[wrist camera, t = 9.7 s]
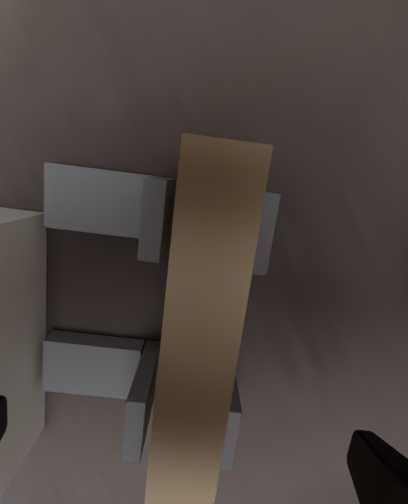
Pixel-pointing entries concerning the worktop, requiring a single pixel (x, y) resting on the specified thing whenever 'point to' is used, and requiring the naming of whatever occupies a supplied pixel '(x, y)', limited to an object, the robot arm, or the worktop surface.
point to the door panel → (204, 312)
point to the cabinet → (81, 344)
